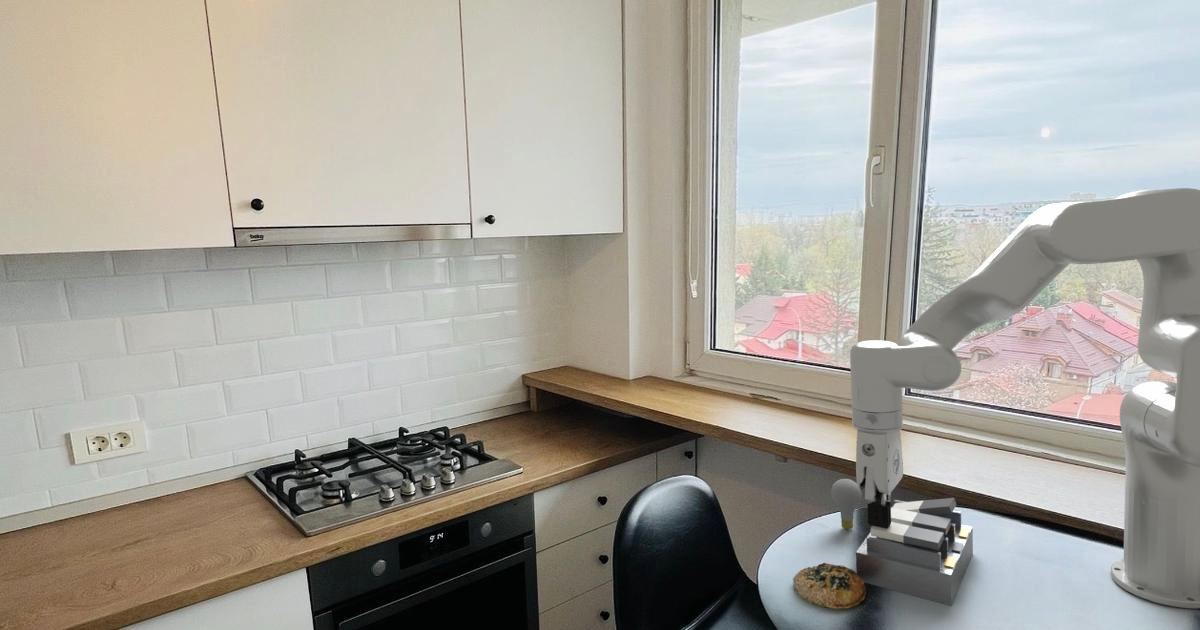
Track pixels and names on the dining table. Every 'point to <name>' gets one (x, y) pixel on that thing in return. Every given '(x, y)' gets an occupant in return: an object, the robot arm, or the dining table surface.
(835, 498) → the light bulb
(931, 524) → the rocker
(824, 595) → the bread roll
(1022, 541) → the dining table surface
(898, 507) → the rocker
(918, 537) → the rocker
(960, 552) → the switch box
